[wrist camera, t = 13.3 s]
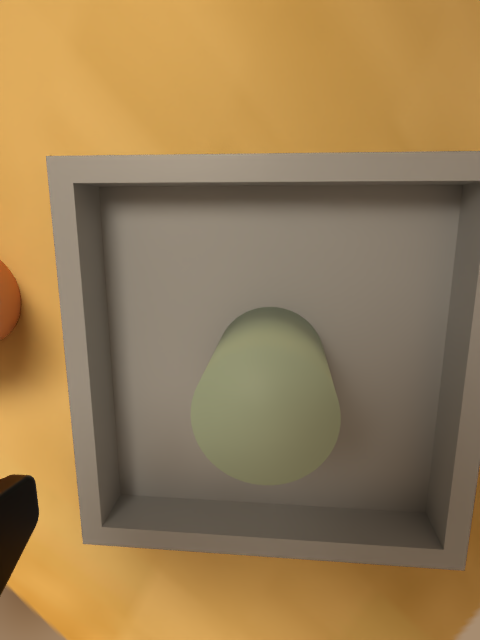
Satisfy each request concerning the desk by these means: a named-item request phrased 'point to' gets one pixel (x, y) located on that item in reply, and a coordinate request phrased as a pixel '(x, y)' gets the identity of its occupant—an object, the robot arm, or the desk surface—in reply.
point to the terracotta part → (8, 301)
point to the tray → (292, 294)
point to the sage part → (267, 400)
